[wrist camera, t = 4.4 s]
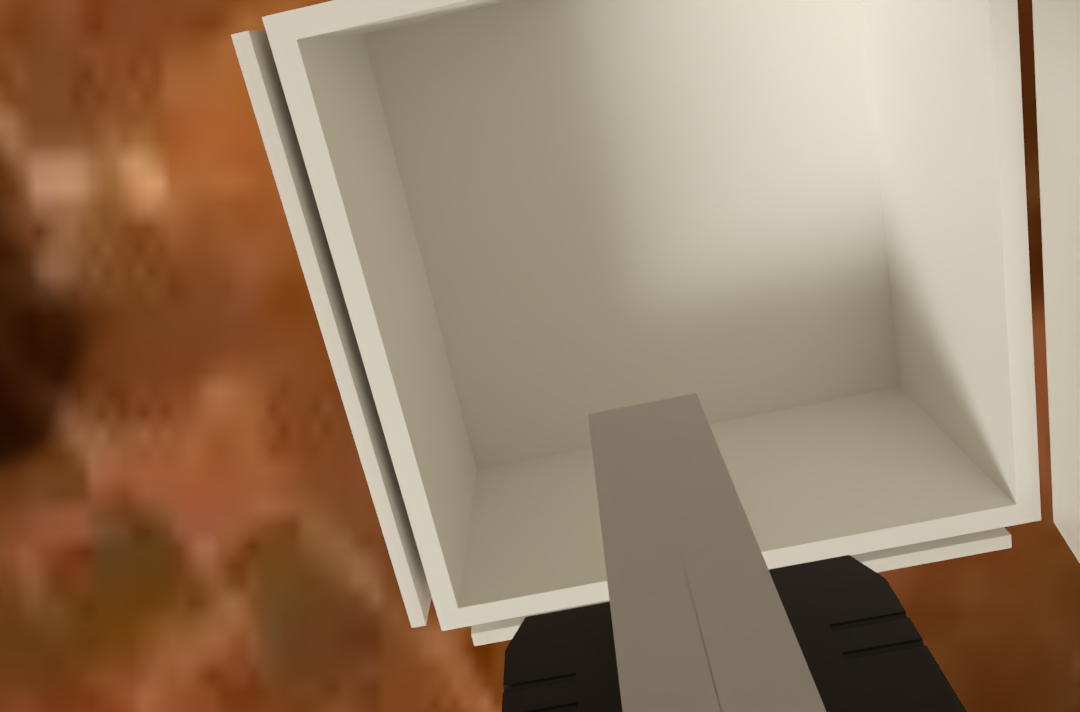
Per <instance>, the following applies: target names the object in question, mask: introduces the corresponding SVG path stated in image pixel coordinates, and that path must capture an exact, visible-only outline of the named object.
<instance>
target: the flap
mask: <svg viewBox="0 0 1080 712" xmlns="http://www.w3.org/2000/svg"><path fill="white" fill-rule="evenodd" d="M1032 11H1033V35H1034V59H1035V84H1036V108H1037V133H1038V157H1039V182H1040V206H1041V231H1042V255H1043V280H1044V304H1045V329H1046V353H1047V377H1048V402H1049V426H1050V451H1051V475H1052V500H1053V522H1054V524H1055V525H1056V527H1057V528H1058V530H1059V531H1060V533H1061V535H1062V536H1063V538H1064V539H1065V541H1066V543H1067V544H1068V546H1069V547H1070V549H1071V551H1072V552H1073V554H1074V555H1075V557H1076V558H1077V560H1078V562H1079V563H1080V0H1032Z"/></svg>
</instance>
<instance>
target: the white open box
mask: <svg viewBox="0 0 1080 712" xmlns="http://www.w3.org/2000/svg"><path fill="white" fill-rule="evenodd" d="M262 19H263V23H264V26H265V29H266V30H257V31H245V32H241V33H236V34H232V35H231V37H232V40H233V44H234V47H235V50H236V53H237V57H238V60H239V63H240V67H241V70H242V73H243V76H244V80H245V83H246V86H247V89H248V93H249V96H250V99H251V103H252V106H253V109H254V112H255V116H256V119H257V122H258V126H259V129H260V132H261V135H262V139H263V142H264V145H265V148H266V152H267V155H268V158H269V162H270V165H271V168H272V171H273V175H274V178H275V181H276V185H277V188H278V191H279V194H280V198H281V201H282V204H283V207H284V211H285V214H286V217H287V221H288V224H289V227H290V230H291V234H292V237H293V240H294V244H295V247H296V250H297V253H298V257H299V260H300V263H301V266H302V270H303V273H304V276H305V280H306V283H307V286H308V289H309V293H310V296H311V299H312V302H313V306H314V309H315V312H316V316H317V319H318V322H319V325H320V329H321V332H322V335H323V339H324V342H325V345H326V348H327V352H328V355H329V358H330V361H331V365H332V368H333V371H334V375H335V378H336V381H337V384H338V388H339V391H340V394H341V398H342V401H343V404H344V407H345V411H346V414H347V417H348V420H349V424H350V427H351V430H352V434H353V437H354V440H355V443H356V447H357V450H358V453H359V457H360V460H361V463H362V466H363V470H364V473H365V476H366V479H367V483H368V486H369V489H370V493H371V496H372V499H373V502H374V506H375V509H376V512H377V516H378V519H379V522H380V525H381V529H382V532H383V535H384V538H385V542H386V545H387V548H388V552H389V555H390V558H391V561H392V565H393V568H394V571H395V574H396V578H397V581H398V584H399V588H400V591H401V594H402V597H403V601H404V604H405V607H406V611H407V614H408V617H409V620H410V624H411V627H412V628H415V627H420V626H425V625H426V623H427V618H428V613H429V607H430V602H431V596H432V599H433V602H434V606H435V609H436V613H437V616H438V619H439V623H440V626H441V630H442V631H445V630H450V629H456V628H461V627H467V626H472V630H471V636H472V639H473V643H474V646H478V645H484V644H489V643H495V642H500V641H506V640H511V639H513V637H514V635H515V634H516V632H517V630H518V629H519V627H520V625H521V624H522V622H523V620H524V619H525V617H528V616H534V615H539V614H545V613H550V612H556V611H561V610H567V609H572V608H578V607H583V606H589V605H594V604H600V603H605V602H610V600H609V591H608V583H607V574H606V565H605V557H604V548H603V540H602V531H601V523H600V514H599V505H598V497H597V488H596V480H595V471H594V463H593V454H592V445H591V437H590V428H589V420H588V414H592V413H597V412H602V411H607V410H612V409H617V408H622V407H628V406H633V405H638V404H643V403H648V402H653V401H658V400H663V399H668V398H673V397H678V396H684V395H689V394H694V393H697V396H698V398H699V401H700V403H701V406H702V408H703V410H704V413H705V415H706V418H707V420H708V423H709V425H710V428H711V430H712V433H713V435H714V437H715V440H716V442H717V445H718V447H719V450H720V452H721V455H722V457H723V459H724V462H725V464H726V467H727V469H728V472H729V474H730V477H731V479H732V482H733V484H734V486H735V489H736V491H737V494H738V496H739V499H740V501H741V504H742V506H743V508H744V511H745V513H746V516H747V518H748V521H749V523H750V526H751V528H752V531H753V533H754V535H755V538H756V540H757V543H758V545H759V548H760V550H761V553H762V555H763V557H764V560H765V562H766V565H767V567H768V570H769V569H774V568H780V567H785V566H791V565H796V564H802V563H807V562H813V561H818V560H824V559H829V558H835V557H840V556H846V555H850V556H852V557H853V558H855V559H856V560H858V561H859V562H861V563H862V564H864V565H865V566H867V567H868V568H870V569H872V570H873V571H875V572H876V573H877V572H882V571H888V570H893V569H899V568H904V567H909V566H915V565H920V564H926V563H931V562H937V561H942V560H948V559H953V558H959V557H964V556H969V555H975V554H980V553H986V552H991V551H997V550H1002V549H1008V548H1012V543H1011V534H1010V533H1009V532H1008V531H1007V530H1006V529H1005V528H1004V527H1008V526H1013V525H1018V524H1024V523H1029V522H1035V521H1040V520H1041V506H1040V484H1039V462H1038V440H1037V418H1036V396H1035V374H1034V352H1033V330H1032V308H1031V287H1030V265H1029V243H1028V221H1027V199H1026V177H1025V155H1024V133H1023V111H1022V89H1021V67H1020V46H1019V24H1018V2H1017V0H333V1H329V2H325V3H320V4H316V5H312V6H307V7H303V8H299V9H295V10H290V11H286V12H282V13H277V14H273V15H269V16H264V17H262Z"/></svg>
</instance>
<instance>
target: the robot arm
mask: <svg viewBox="0 0 1080 712" xmlns="http://www.w3.org/2000/svg"><path fill="white" fill-rule="evenodd" d="M588 420H589V428H590V437H591V445H592V454H593V463H594V471H595V480H596V488H597V497H598V505H599V514H600V523H601V531H602V540H603V548H604V557H605V565H606V574H607V583H608V591H609V600H610V602H605V603H600V604H594V605H589V606H583V607H578V608H572V609H567V610H561V611H556V612H550V613H545V614H539V615H534V616H528V617H525V619H524V620H523V622H522V624H521V625H520V627H519V629H518V630H517V632H516V634H515V635H514V637H513V639H512V640H511V642H510V643H509V645H508V647H507V648H506V650H505V665H504V683H503V686H504V693H503V701H502V712H966V710H965V708H964V707H963V705H962V704H961V702H960V700H959V699H958V697H957V695H956V694H955V692H954V690H953V689H952V687H951V685H950V684H949V682H948V681H947V679H946V677H945V676H944V674H943V672H942V671H941V669H940V667H939V666H938V664H937V662H936V661H935V659H934V658H933V656H932V654H931V653H930V651H929V649H928V648H927V646H924V645H923V642H922V638H921V636H920V635H919V633H918V631H917V630H916V628H915V626H914V625H913V623H912V621H911V620H910V618H907V616H906V612H905V610H904V608H903V607H902V605H901V603H900V602H899V600H898V598H897V597H896V595H895V593H894V592H893V590H892V589H891V587H890V585H889V584H888V582H887V580H886V579H885V578H884V577H882V576H881V575H879V574H878V573H876V572H875V571H873V570H872V569H870V568H868V567H867V566H865V565H864V564H862V563H861V562H859V561H858V560H856V559H855V558H853V557H852V556H850V555H846V556H840V557H835V558H829V559H824V560H818V561H813V562H807V563H802V564H796V565H791V566H785V567H780V568H774V569H769V570H768V567H767V565H766V562H765V560H764V557H763V555H762V553H761V550H760V548H759V545H758V543H757V540H756V538H755V535H754V533H753V531H752V528H751V526H750V523H749V521H748V518H747V516H746V513H745V511H744V508H743V506H742V504H741V501H740V499H739V496H738V494H737V491H736V489H735V486H734V484H733V482H732V479H731V477H730V474H729V472H728V469H727V467H726V464H725V462H724V459H723V457H722V455H721V452H720V450H719V447H718V445H717V442H716V440H715V437H714V435H713V433H712V430H711V428H710V425H709V423H708V420H707V418H706V415H705V413H704V410H703V408H702V406H701V403H700V401H699V398H698V396H697V393H694V394H689V395H684V396H678V397H673V398H668V399H663V400H658V401H653V402H648V403H643V404H638V405H633V406H628V407H622V408H617V409H612V410H607V411H602V412H597V413H592V414H588Z"/></svg>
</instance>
